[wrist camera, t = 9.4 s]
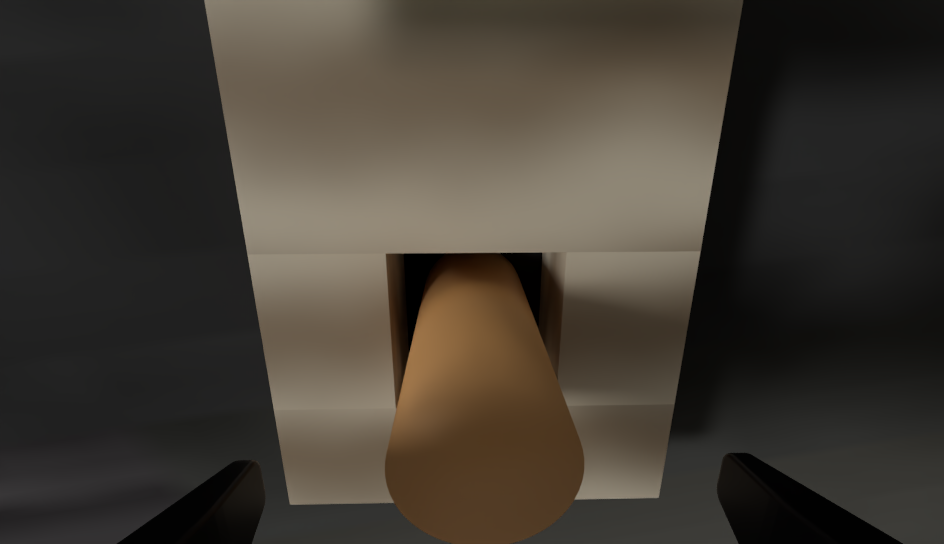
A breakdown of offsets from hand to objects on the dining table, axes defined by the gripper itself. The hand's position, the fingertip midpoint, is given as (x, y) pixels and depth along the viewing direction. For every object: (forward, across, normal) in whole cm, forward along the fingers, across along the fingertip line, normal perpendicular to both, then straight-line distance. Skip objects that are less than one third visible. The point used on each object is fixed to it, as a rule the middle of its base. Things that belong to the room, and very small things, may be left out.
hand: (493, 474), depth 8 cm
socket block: (+10, 0, -2) cm, 10 cm away
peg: (+10, 0, 0) cm, 10 cm away
